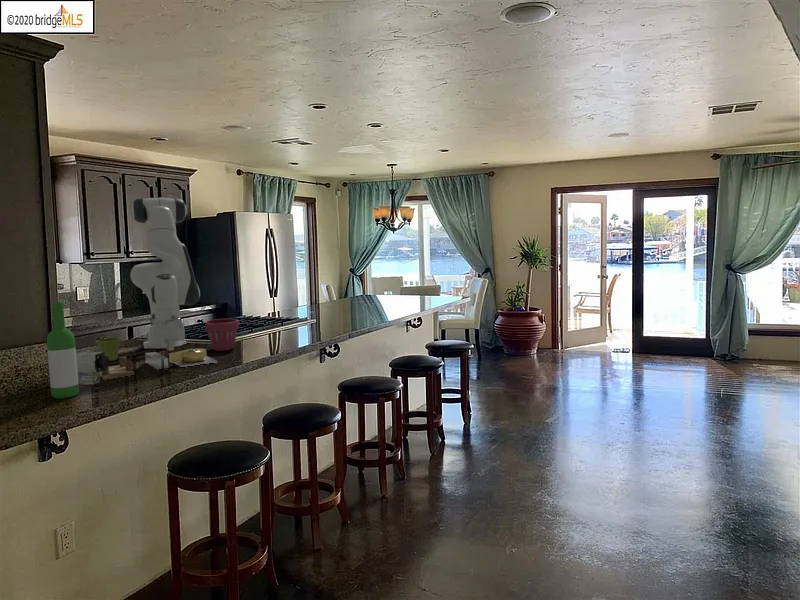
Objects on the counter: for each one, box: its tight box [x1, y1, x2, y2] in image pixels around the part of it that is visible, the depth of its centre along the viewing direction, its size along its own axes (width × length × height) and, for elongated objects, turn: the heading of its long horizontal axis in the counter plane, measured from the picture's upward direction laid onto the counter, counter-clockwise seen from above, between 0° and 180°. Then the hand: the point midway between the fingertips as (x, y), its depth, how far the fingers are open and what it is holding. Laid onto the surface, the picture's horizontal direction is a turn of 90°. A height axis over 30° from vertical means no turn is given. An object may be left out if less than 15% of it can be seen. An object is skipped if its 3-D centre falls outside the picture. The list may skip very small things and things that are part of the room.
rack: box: [95, 356, 135, 381], centre depth 219 cm, size 16×10×5 cm, turn 36°
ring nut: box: [168, 348, 208, 364], centre depth 235 cm, size 14×10×4 cm
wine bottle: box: [46, 301, 80, 400], centre depth 187 cm, size 8×8×30 cm
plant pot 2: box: [204, 318, 240, 352], centre depth 265 cm, size 14×14×13 cm
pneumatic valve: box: [76, 349, 110, 386], centre depth 203 cm, size 6×12×12 cm, turn 84°
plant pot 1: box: [95, 337, 122, 362], centre depth 246 cm, size 9×9×9 cm
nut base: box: [171, 355, 218, 368], centre depth 236 cm, size 14×14×1 cm
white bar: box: [144, 351, 169, 370], centre depth 232 cm, size 18×4×4 cm, turn 36°
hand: (170, 350), depth 235 cm, fingers closed
